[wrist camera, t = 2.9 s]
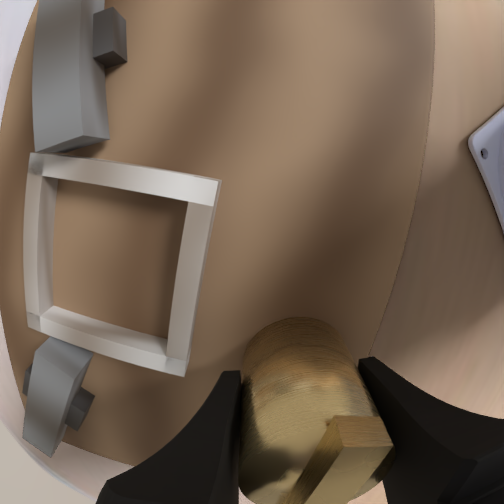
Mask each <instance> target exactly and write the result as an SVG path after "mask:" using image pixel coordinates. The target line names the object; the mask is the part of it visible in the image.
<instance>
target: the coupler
mask: <svg viewBox="0 0 504 504" xmlns="http://www.w3.org/2000/svg"><path fill="white" fill-rule="evenodd" d="M395 456H396V452H395V447H394V445H393V443H392V440H391V438H390V436H389V434H388V432H387V429H386V427H385V425H384V423H383V421H382V419H381V416H380V414H379V412H378V410H377V408H376V406H375V404H374V401H373V399H372V397H371V395H370V393H369V391H368V389H367V387H366V385H365V383H364V381H363V378H362V376H361V374H360V372H359V370H358V368H357V366H356V364H355V362H354V360H353V358H352V356H351V354H350V352H349V350H348V348H347V346H346V344H345V342H344V340H343V338H342V336H341V335H340V333H339V332H338V331H337V330H336V329H335V328H334V327H332V326H331V325H330V324H328V323H326V322H324V321H322V320H319V319H315V318H311V317H290V318H286V319H282V320H279V321H276V322H274V323H272V324H270V325H268V326H266V327H265V328H263V329H262V330H260V331H259V332H258V333H257V334H256V335H255V336H254V337H253V338H252V340H251V341H250V342H249V344H248V346H247V348H246V350H245V353H244V357H243V371H242V395H241V418H240V443H239V468H238V485H239V488H240V490H241V492H242V493H243V494H244V495H245V496H246V497H247V498H248V499H249V500H251V501H252V502H254V503H256V504H347V503H348V502H349V501H350V500H353V499H355V498H357V497H359V496H361V495H363V494H364V493H366V492H367V491H369V490H371V489H372V488H373V487H375V486H376V485H377V484H378V483H379V482H380V481H382V480H383V478H384V477H385V476H386V475H387V474H388V472H389V471H390V470H391V468H392V466H393V464H394V461H395Z"/></svg>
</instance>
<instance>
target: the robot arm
mask: <svg viewBox="0 0 504 504" xmlns="http://www.w3.org/2000/svg"><path fill="white" fill-rule="evenodd" d="M468 146H469V149H470V151H471V153H472V155H473V157H474V159H475V162H476V164H477V166H478V168H479V170H480V173H481V175H482V177H483V179H484V182H485V184H486V187H487V189H488V191H489V194H490V196H491V199H492V202H493V204H494V207H495V210H496V212H497V215H498V218H499V221H500V224H501V227H502V230H503V233H504V107H503V108H501V109H500V110H499V111H498V112H497V113H496V114H495V115H493V116H492V117H491V118H490V119H489V120H488V121H487V122H485V123H484V124H483V125H482V126H481V127H480V128H478V129H477V130H476V131H475V132H474V133H473V134H471V136H470V137H469V140H468ZM481 150H482V151H483V157H481ZM358 370H359V372H360V374H361V376H362V378H363V381H364V383H365V385H366V387H367V389H368V391H369V393H370V395H371V397H372V399H373V401H374V404H375V406H376V408H377V410H378V412H379V414H380V416H381V419H382V421H383V423H384V425H385V427H386V429H387V432H388V434H389V436H390V438H391V440H392V443H393V445H394V447H395V452H396V456H395V461H394V464H393V466H392V468H391V470H390V471H389V472H388V474H387V475H386V476H385V477H384V478H383V484H384V488H385V493H386V497H387V502H388V504H504V419H498V418H493V417H488V416H484V415H479V414H476V413H472V412H469V411H466V410H463V409H460V408H458V407H455V406H453V405H450V404H448V403H446V402H444V401H441V400H439V399H437V398H435V397H433V396H431V395H430V394H428V393H426V392H424V391H423V390H421V389H419V388H418V387H416V386H414V385H413V384H411V383H410V382H408V381H407V380H405V379H404V378H403V377H401V376H400V375H398V374H397V373H396V372H394V371H393V370H391V369H390V368H389V367H387V366H386V365H385V364H383V363H382V362H381V361H379V360H378V359H376V358H375V357H368V358H361V359H359V361H358ZM241 395H242V382H241V373H240V370H233V371H223V372H222V373H221V375H220V377H219V379H218V381H217V382H216V384H215V386H214V388H213V389H212V391H211V393H210V394H209V396H208V397H207V399H206V400H205V402H204V403H203V404H202V406H201V407H200V409H199V410H198V411H197V412H196V414H195V415H194V416H193V417H192V419H191V420H190V421H189V422H188V423H187V424H186V426H185V427H184V428H183V429H182V430H181V431H180V432H179V433H178V434H177V435H176V436H175V437H174V438H173V439H172V440H170V441H169V442H168V443H167V444H166V445H165V446H164V447H162V448H161V449H160V450H159V451H157V452H156V453H155V454H153V455H152V456H150V457H149V458H147V459H146V460H144V461H143V462H141V463H140V464H138V465H137V466H135V467H133V468H132V469H130V470H128V471H126V472H124V473H122V474H120V475H118V476H116V477H113V478H111V479H109V480H107V481H106V483H105V485H104V487H103V488H102V490H101V492H100V494H99V496H98V499H97V502H96V504H239V485H238V468H239V443H240V418H241Z"/></svg>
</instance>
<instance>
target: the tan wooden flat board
mask: <svg viewBox="0 0 504 504" xmlns="http://www.w3.org/2000/svg"><path fill="white" fill-rule="evenodd" d="M434 50H435V10H434V0H37V3H36V5H35V7H34V10H33V12H32V15H31V17H30V20H29V22H28V25H27V28H26V31H25V33H24V36H23V39H22V42H21V45H20V48H19V51H18V55H17V58H16V61H15V65H14V68H13V72H12V76H11V80H10V84H9V88H8V92H7V97H6V101H5V106H4V111H3V117H2V122H1V129H0V311H1V317H2V323H3V328H4V333H5V338H6V343H7V348H8V352H9V356H10V361H11V365H12V368H13V372H14V376H15V380H16V383H17V386H18V390H19V393H20V396H21V399H22V402H23V405H24V408H25V418H24V427H23V439H25V440H26V441H28V442H29V443H30V444H32V445H33V446H35V447H36V448H37V449H39V450H40V451H42V452H43V453H45V454H46V455H48V456H49V457H52V455H53V454H54V452H55V450H56V449H57V447H58V445H59V443H60V442H61V441H63V442H66V443H68V444H71V445H73V446H76V447H78V448H81V449H83V450H86V451H89V452H92V453H94V454H97V455H100V456H103V457H106V458H109V459H112V460H115V461H119V462H122V463H125V464H129V465H132V466H137V465H138V464H140V463H141V462H143V461H144V460H146V459H147V458H149V457H150V456H152V455H153V454H155V453H156V452H157V451H159V450H160V449H161V448H162V447H164V446H165V445H166V444H167V443H168V442H169V441H170V440H172V439H173V438H174V437H175V436H176V435H177V434H178V433H179V432H180V431H181V430H182V429H183V428H184V427H185V426H186V424H187V423H188V422H189V421H190V420H191V419H192V417H193V416H194V415H195V414H196V412H197V411H198V410H199V409H200V407H201V406H202V404H203V403H204V402H205V400H206V399H207V397H208V396H209V394H210V393H211V391H212V389H213V388H214V386H215V384H216V382H217V381H218V379H219V377H220V375H221V373H222V372H223V371H233V370H240V373H241V382H242V371H243V357H244V353H245V350H246V348H247V346H248V344H249V342H250V341H251V340H252V338H253V337H254V336H255V335H256V334H257V333H258V332H259V331H260V330H262V329H263V328H265V327H266V326H268V325H270V324H272V323H274V322H276V321H279V320H282V319H286V318H290V317H311V318H315V319H319V320H322V321H324V322H326V323H328V324H330V325H331V326H332V327H334V328H335V329H336V330H337V331H338V332H339V333H340V335H341V336H342V338H343V340H344V342H345V344H346V346H347V348H348V350H349V352H350V354H351V356H352V358H353V360H354V362H355V364H356V366H357V368H358V361H359V359H361V358H368V355H369V353H370V350H371V348H372V345H373V342H374V340H375V337H376V335H377V332H378V329H379V326H380V324H381V321H382V318H383V315H384V312H385V309H386V306H387V303H388V300H389V297H390V294H391V291H392V288H393V285H394V282H395V278H396V275H397V272H398V268H399V265H400V261H401V258H402V254H403V251H404V247H405V243H406V239H407V236H408V232H409V228H410V223H411V219H412V215H413V211H414V206H415V202H416V197H417V192H418V187H419V182H420V177H421V171H422V166H423V160H424V154H425V147H426V141H427V134H428V126H429V118H430V109H431V99H432V87H433V73H434Z"/></svg>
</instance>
